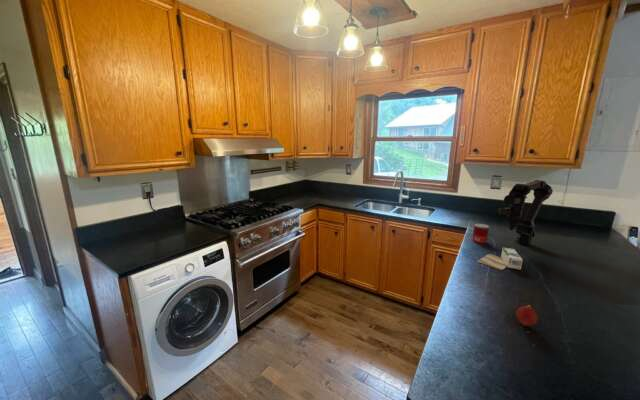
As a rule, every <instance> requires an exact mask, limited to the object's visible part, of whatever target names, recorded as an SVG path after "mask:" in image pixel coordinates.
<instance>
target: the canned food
mask: <svg viewBox="0 0 640 400" xmlns="http://www.w3.org/2000/svg"><path fill="white" fill-rule="evenodd" d="M489 229H490V226H489V225H488V224H485V223H484V224H483V223H475V224H474V226H473V232H472V233H473V234H472V241H473V242H474V243H477V244H486V243H487V241H488V236H489Z"/></svg>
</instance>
